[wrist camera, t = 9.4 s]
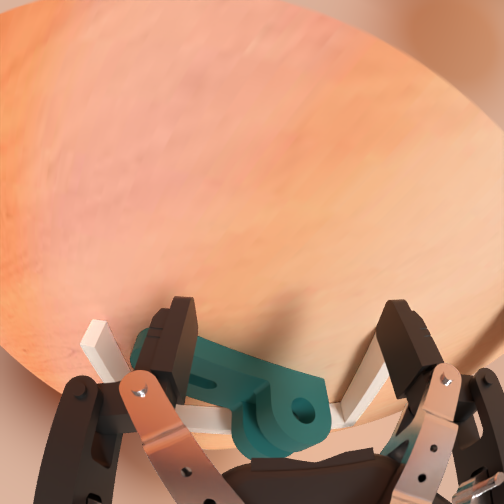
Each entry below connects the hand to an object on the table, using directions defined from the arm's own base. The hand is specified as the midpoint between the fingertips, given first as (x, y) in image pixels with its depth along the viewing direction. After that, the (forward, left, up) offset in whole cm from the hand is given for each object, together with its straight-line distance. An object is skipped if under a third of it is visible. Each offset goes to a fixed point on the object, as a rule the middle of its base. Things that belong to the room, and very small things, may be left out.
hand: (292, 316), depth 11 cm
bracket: (+4, +14, -7) cm, 17 cm away
